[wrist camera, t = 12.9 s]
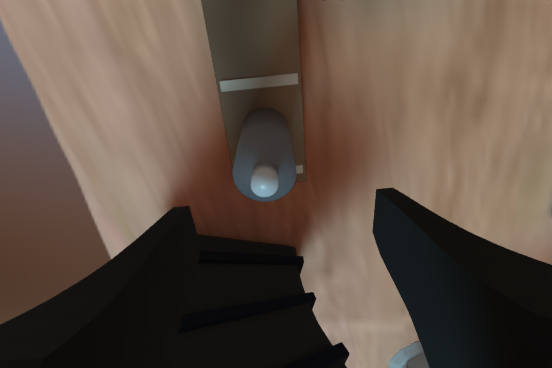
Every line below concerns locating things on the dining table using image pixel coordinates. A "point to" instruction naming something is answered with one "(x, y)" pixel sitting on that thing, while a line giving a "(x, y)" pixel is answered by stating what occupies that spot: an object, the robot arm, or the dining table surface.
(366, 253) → the dining table surface
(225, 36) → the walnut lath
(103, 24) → the dining table surface
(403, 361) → the french press
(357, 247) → the dining table surface
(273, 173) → the awl peg
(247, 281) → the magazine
